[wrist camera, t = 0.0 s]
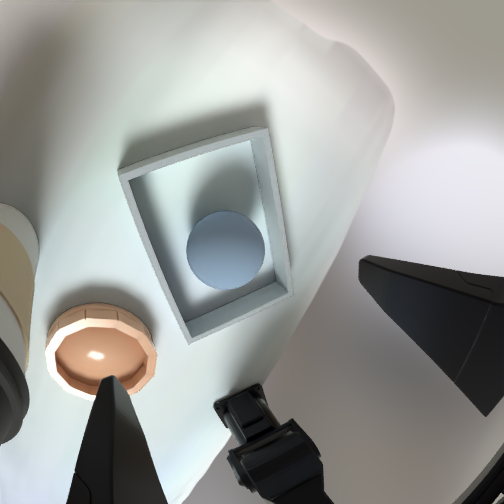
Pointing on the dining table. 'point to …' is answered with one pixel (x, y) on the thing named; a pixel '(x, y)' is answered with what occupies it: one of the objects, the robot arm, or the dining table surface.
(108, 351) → the bowl
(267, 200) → the shallow serving tray
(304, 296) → the dining table surface
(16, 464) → the dining table surface
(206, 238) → the ball
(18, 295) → the coffee cup
